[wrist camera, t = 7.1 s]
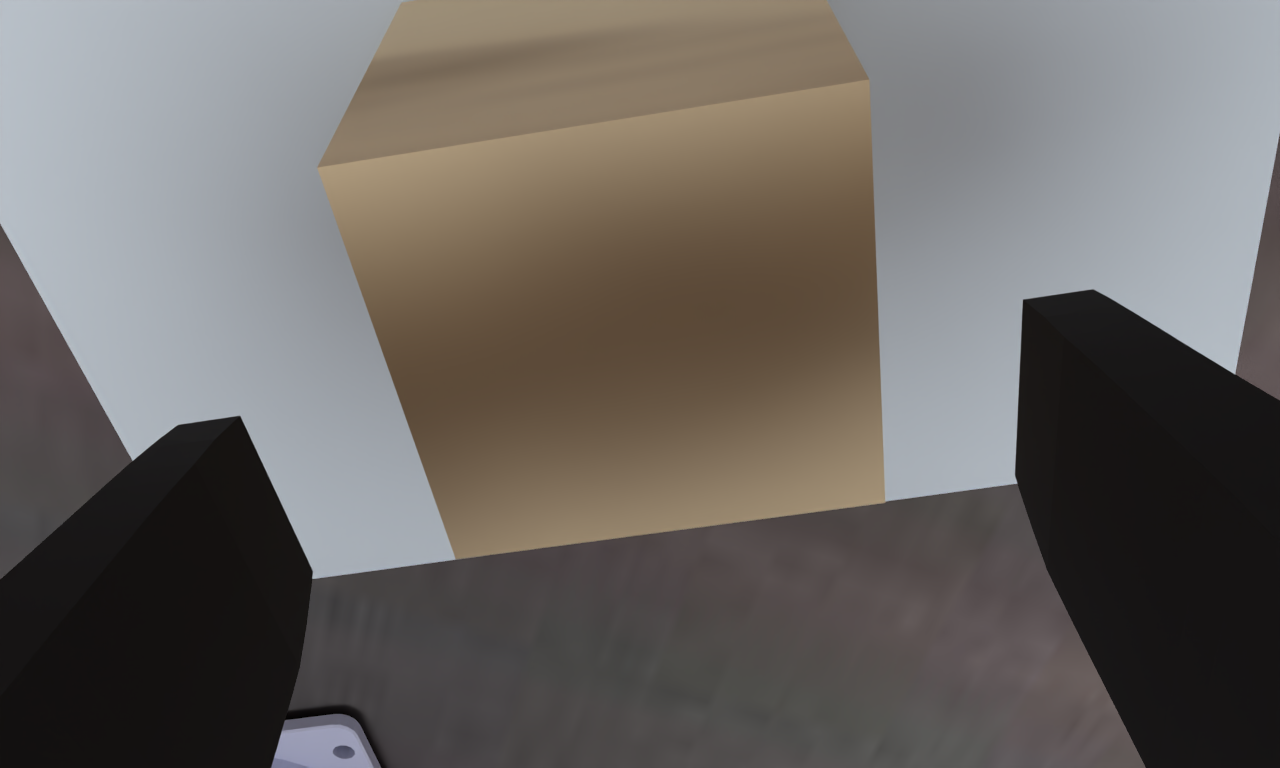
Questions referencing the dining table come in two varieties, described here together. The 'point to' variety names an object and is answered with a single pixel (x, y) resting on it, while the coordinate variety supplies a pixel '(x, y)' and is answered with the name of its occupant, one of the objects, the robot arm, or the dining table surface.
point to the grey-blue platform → (903, 205)
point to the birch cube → (619, 262)
